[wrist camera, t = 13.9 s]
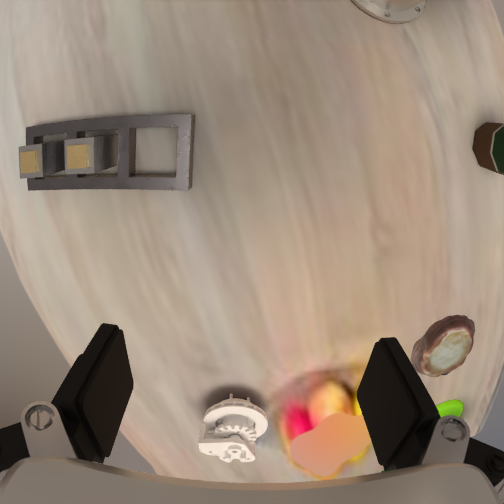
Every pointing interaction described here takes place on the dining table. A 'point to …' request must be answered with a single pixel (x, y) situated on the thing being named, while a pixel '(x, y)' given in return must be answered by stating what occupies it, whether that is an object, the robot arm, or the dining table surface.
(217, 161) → the dining table surface
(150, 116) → the rail
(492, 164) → the beer bottle
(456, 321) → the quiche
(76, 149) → the brushed metal block
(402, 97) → the dining table surface
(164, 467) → the dining table surface
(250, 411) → the mechanical part
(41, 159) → the grey tan rectangular block
